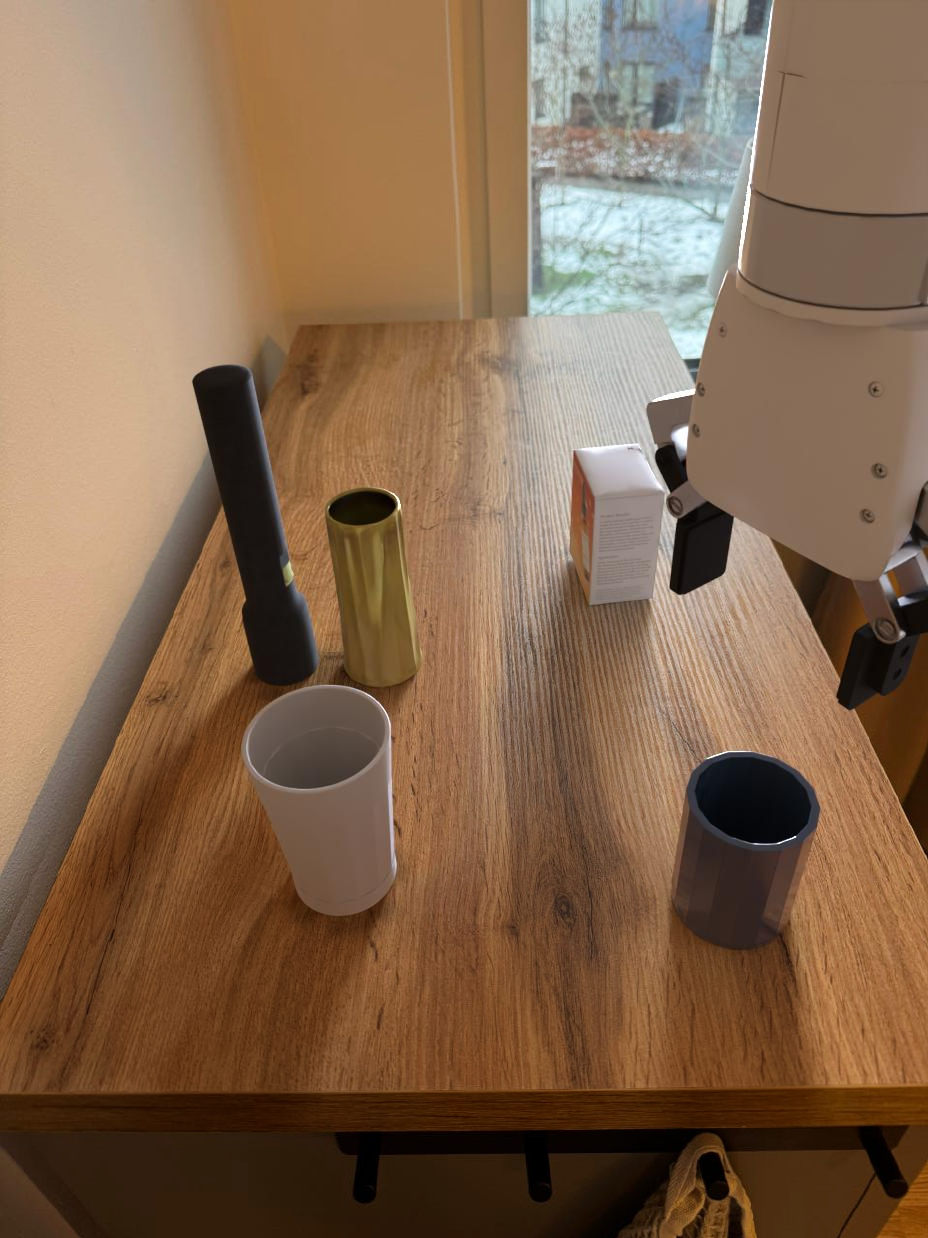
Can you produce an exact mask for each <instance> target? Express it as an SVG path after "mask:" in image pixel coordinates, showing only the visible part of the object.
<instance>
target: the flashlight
mask: <svg viewBox="0 0 928 1238" xmlns="http://www.w3.org/2000/svg"><path fill="white" fill-rule="evenodd" d="M191 384H192V387H193V392H194V396H195V400H196V403H197V407H198V411H199V416H200V419H201V424H202V427H203V432H204V435H205V436H204V437H205V440H206V444H207V448H208V452H209V455H210V460H211V465H212V467H213V472H214V476H215V480H216V485H217V488H218V492H219V497H220V500H221V503H222V509H223V512H224V516H225V521H226V525H227V528H228V532H229V536H230V540H231V544H232V549H233V552H234V556H235V561H236V564H237V568H238V572H239V577H240V581H241V584H242V588H243V592H244V597H245V601H244V603H243V604H242V607H241V619H242V624H243V629H244V633H245V638H246V643H247V647H248V650H249V654H250V657H251V661H252V665H253V669H254V672H255V675H256V677H257V678H258V679H259V680H260V681H261V682H263V683H265V684H267V685H269V686H276V687H284V686H285V687H286V686H291V685H292V686H293V685H296V684H298V683H300V682H303V681H304V680H306V679H308V678H309V677H310V676H312V675H313V674H314V673H315V672H316V669H317V668H318V666H319V664H320V663H319V662H320V658H319V653H318V647H317V642H316V638H315V632H314V627H313V623H312V619H311V614H310V610H309V605H308V602H307V600H306V597H305V596H304V594H303V593H302V592H301V591H300V590H298V589H297V588H296V587H297V586H296V583H295V578H294V576H295V574H294V571H293V567H292V564H291V559H290V553H289V548H288V544H287V538H286V534H285V530H284V525H283V524H284V523H283V519H282V515H281V510H280V505H279V504H280V503H279V499H278V495H277V490H276V485H275V482H274V481H275V480H274V475H273V471H272V466H271V461H270V455H269V452H268V446H267V441H266V436H265V431H264V427H263V420H262V416H261V412H260V407H259V406H260V405H259V402H258V396H257V392H256V386H255V382H254V377H253V372H252V371H251V369H250V368H248V367H246V366H243V365H239V364H232V363H231V364H219V365H214V366H210V367H207V368H205V369H202V370H201V371H199V372H197V373H196V374H195V375H194V376H193V378H192V380H191Z"/></svg>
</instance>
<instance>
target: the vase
mask: <svg viewBox="0 0 928 1238" xmlns="http://www.w3.org/2000/svg"><path fill="white" fill-rule="evenodd" d="M324 519H325V523H326V524H325V525H326V531H327V539H328V546H329V553H330V558H331V564H332V565H331V566H332V569H333V576H334V583H335V590H336V597H337V603H338V604H337V605H338V611H339V617H340V618H339V620H340V629H341V641H342V646H343V666H344V670H345V672H346V674H347V675H348V676H349V678H350V679H351V680H353V681H354V682H356V683H359V684H360V685H363V686H365V687H369V688H388V687H392V686H396V685H399V684H403V683H404V682H406V681H408V680H409V679H410V678H412V677H413V676H414V675H415V674H416V673H418V671H419V670H420V667H421V666H422V663H423V651H422V648H421V643H420V638H419V632H418V624H417V617H416V611H415V605H414V600H413V594H412V586H411V580H410V576H409V575H410V574H409V569H408V561H407V549H406V544H405V542H406V541H405V533H404V523H403V512H402V507H401V503H400V499H399V498H398V496H396V494H395V493H394V492H391V491H389V490H387V489H384V488H380V487H375V486H374V487H373V486H361V487H354V488H351V489H348V490H344V491H342V492H340V493H338V494H336V495H334V496H332V497H331V498H330V499H329V500H328V502H326V504H325V507H324Z"/></svg>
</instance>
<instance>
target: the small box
mask: <svg viewBox="0 0 928 1238" xmlns="http://www.w3.org/2000/svg"><path fill="white" fill-rule="evenodd" d="M571 477H572V478H571V496H570V497H571V501H570V527H569V551H568V552H569V554H570V556H571V560H572V561H573V563H574V566H575V569H576V572H577V575H578V577H579V581H580V584H581V587H582V590H583V592H584V595H585V598H586V601H587V604H588V605H589V606H597V605H603V604H614V603H623V602H632V601H633V602H634V601H643V600H651V599H653V597H654V592H655V591H654V590H655V582H656V572H657V564H658V556H659V549H660V548H659V547H660V538H661V530H662V521H663V513H664V506H665V505H664V504H665V503H664V502H665V496H666V495H665V494H666V492H665V491H664V489H663V487H662V486H661V484H660V482H659V481H658V479H657V478H656V476H655V474H654V472H653V470H652V468H651V466H650V465H649V462H648V461H647V459H646V457H645V454H644V453H643V451H642V448H641V445H640V444H639V443H627V444H617V445H616V444H615V445H607V446H605V445H604V446H596V447H585V448H576V449H573V452H572V476H571Z"/></svg>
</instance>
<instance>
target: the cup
mask: <svg viewBox="0 0 928 1238" xmlns="http://www.w3.org/2000/svg"><path fill="white" fill-rule="evenodd" d="M391 728H392V727H391V721H390V718H389V716H388V714H387V712H386V710H385V709H384V707H383V706H382V705H381V703H380V702H379V701H378V700H376V698H374V697H373V696H371V695H370V694H368V693H366V692H364V691H362V690H359V689H356V688H354V687H351V686H345V685H337V684H319V685H311V686H307V687H303V688H299V689H295V690H292V691H290V692H287V693H285V694H283V695H281V696H278V697H277V698H275V699H274V700H272V701H271V702H269V703H268V704H266V705H265V706H263V708H262V709H260V710H259V711H258V712H257V713H256V714H255V715H254V716H253V718H252V719H251V721H250V722H249V724H247V727H246V728H245V731H244V733H243V736H242V739H241V746H240V747H241V748H240V752H241V758H242V762H243V764H244V768H245V769H246V772H247V774H248V776H249V778H250V781H251V782H252V785H253V788H254V790H255V792H256V793H257V796H258V798H259V801H260V803H261V804H262V807H263V808H264V810H265V812H266V815H267V817H268V819H269V821H270V824H271V827H272V829H273V832H274V834H275V837H276V839H277V841H278V844H279V846H280V848H281V850H282V853H283V855H284V858H285V861H286V863H287V865H288V868H289V870H290V873H291V877H292V881H293V884H294V888H295V891H296V893H297V895H298V897H299V899H300V900H301V901H302V903H304V905H305V906H306V907H308V908H309V909H310V910H313V911H315V912H317V913H320V914H322V915H326V916H333V917H342V916H343V917H347V916H351V915H355V914H356V915H357V914H359V913H361V912H364V911H366V910H368V909H370V908H372V907H373V906H375V905H377V904H378V903H379V902H380V901H382V899H384V897H385V896H386V895H387V894H388V892H389V891H390V890H391V888H392V886H393V885H394V882H395V879H396V875H397V870H398V869H397V868H398V867H397V857H396V852H395V836H394V809H393V807H394V806H393V786H392V785H393V784H392V782H393V781H392V729H391Z"/></svg>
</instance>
